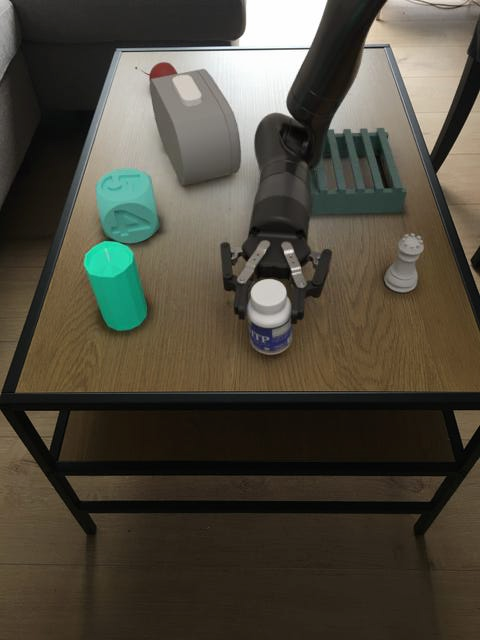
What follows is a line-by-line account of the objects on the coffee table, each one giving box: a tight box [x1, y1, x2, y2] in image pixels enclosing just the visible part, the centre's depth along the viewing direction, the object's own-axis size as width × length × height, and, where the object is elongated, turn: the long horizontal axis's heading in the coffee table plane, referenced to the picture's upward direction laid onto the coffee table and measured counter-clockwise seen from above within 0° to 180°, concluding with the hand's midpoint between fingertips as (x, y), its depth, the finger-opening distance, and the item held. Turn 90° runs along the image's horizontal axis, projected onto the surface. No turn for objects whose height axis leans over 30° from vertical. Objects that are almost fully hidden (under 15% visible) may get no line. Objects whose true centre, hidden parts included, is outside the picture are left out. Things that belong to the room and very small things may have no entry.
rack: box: [309, 127, 408, 216], centre depth 87 cm, size 14×16×5 cm
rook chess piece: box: [383, 233, 425, 294], centre depth 72 cm, size 4×4×8 cm
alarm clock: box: [149, 68, 242, 186], centre depth 89 cm, size 21×10×13 cm, turn 19°
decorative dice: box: [95, 167, 160, 244], centre depth 81 cm, size 8×8×8 cm
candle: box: [83, 240, 148, 332], centre depth 68 cm, size 6×6×12 cm
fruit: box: [134, 61, 179, 82], centre depth 107 cm, size 6×6×8 cm
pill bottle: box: [246, 278, 293, 356], centre depth 63 cm, size 5×5×9 cm
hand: (267, 317), depth 60 cm, fingers closed on pill bottle, 5 cm apart
